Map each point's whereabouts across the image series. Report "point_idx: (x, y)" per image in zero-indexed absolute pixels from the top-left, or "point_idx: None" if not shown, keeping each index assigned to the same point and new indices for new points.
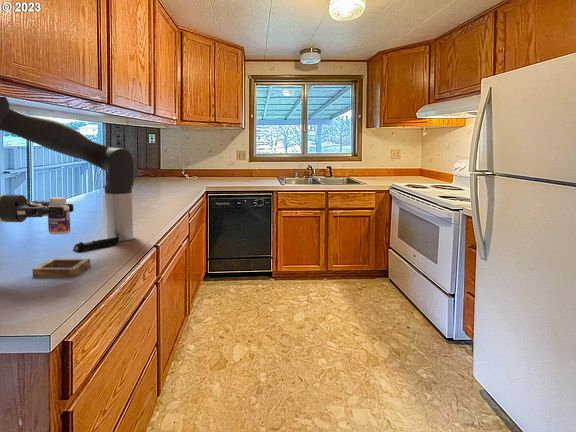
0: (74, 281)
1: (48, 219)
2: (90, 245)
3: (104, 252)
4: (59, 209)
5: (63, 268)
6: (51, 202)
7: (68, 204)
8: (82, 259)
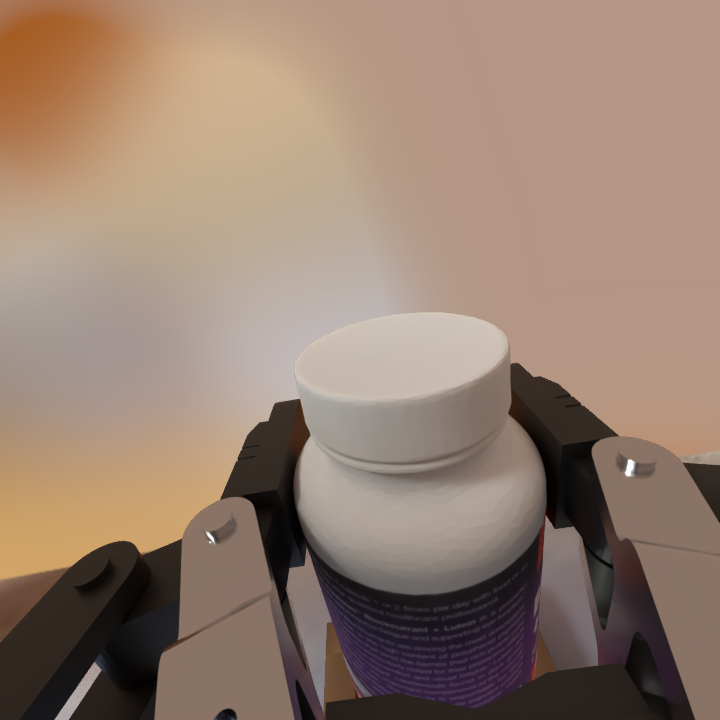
0: (576, 578)
1: (529, 626)
2: None
3: (63, 709)
4: (540, 380)
5: (536, 668)
6: (508, 403)
7: (297, 414)
8: (340, 660)
